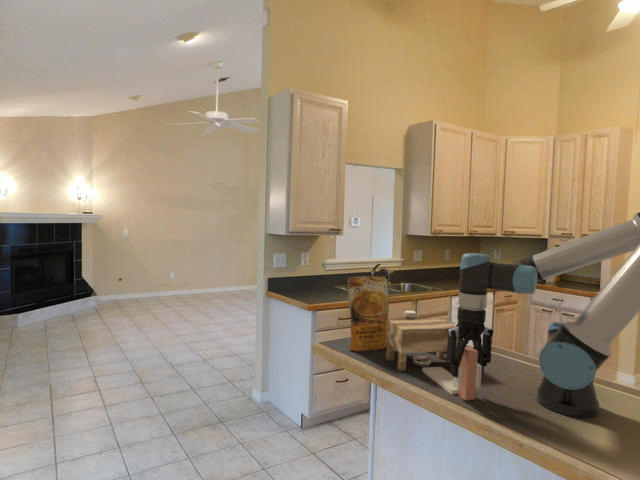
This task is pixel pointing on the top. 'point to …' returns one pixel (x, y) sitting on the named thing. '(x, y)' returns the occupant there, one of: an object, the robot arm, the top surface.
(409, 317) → the sprinkles bottle
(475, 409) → the top surface
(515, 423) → the top surface
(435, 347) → the small wooden stool
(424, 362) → the steel puck
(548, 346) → the robot arm
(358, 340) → the pancake mix bag
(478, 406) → the top surface
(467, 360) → the plank with pink post
